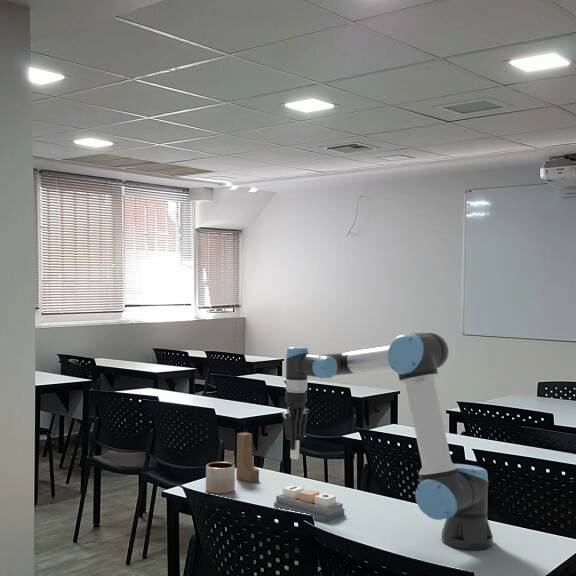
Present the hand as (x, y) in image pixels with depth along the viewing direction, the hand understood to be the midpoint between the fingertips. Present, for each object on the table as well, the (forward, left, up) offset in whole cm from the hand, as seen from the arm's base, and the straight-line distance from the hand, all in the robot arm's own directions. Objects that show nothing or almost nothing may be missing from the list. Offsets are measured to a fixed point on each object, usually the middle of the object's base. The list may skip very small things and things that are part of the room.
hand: (294, 458), depth 251 cm
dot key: (-11, -9, -13) cm, 19 cm away
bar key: (0, 0, -13) cm, 13 cm away
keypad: (-6, -4, -17) cm, 18 cm away
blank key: (-6, -4, -13) cm, 15 cm away
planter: (+23, +24, -17) cm, 38 cm away
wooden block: (+37, +12, -17) cm, 43 cm away
